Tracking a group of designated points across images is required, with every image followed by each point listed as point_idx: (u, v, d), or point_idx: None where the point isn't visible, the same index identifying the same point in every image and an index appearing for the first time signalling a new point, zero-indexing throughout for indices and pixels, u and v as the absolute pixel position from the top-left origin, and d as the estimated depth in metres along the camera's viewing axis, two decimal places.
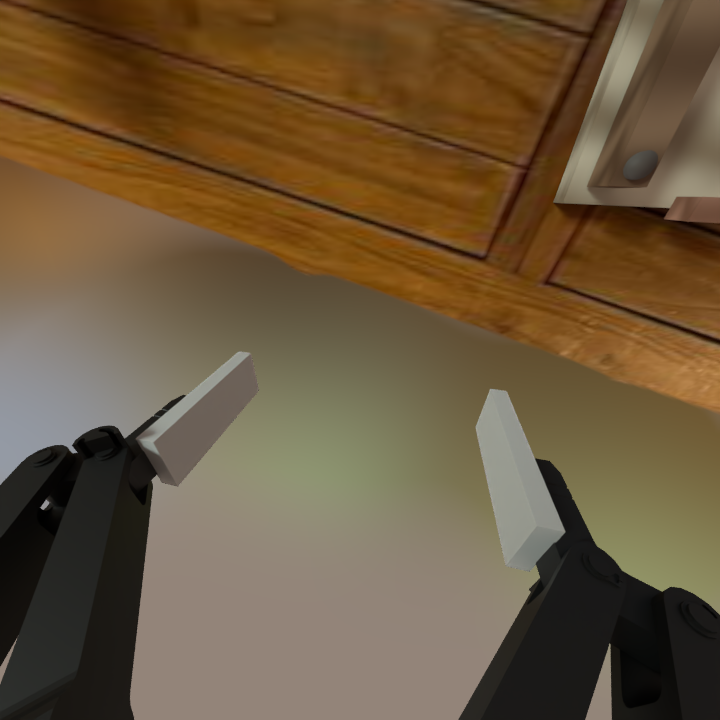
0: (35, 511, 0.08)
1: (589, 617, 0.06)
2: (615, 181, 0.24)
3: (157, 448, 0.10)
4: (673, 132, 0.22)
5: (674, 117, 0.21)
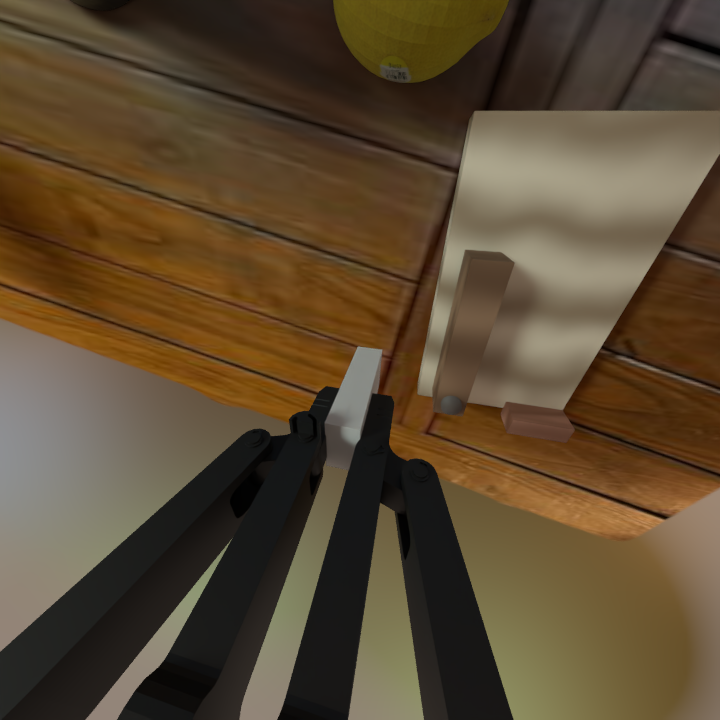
0: (231, 492, 0.09)
1: (370, 482, 0.09)
2: (437, 409, 0.28)
3: (342, 432, 0.11)
4: (470, 388, 0.26)
5: (468, 380, 0.25)
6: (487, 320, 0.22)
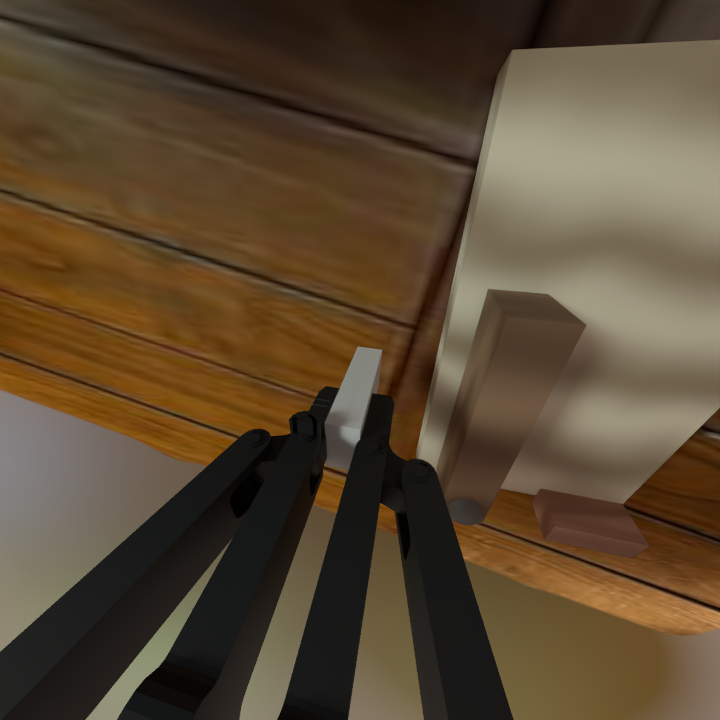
0: (231, 492, 0.09)
1: (370, 482, 0.09)
2: None
3: (342, 432, 0.11)
4: (495, 493, 0.17)
5: (491, 483, 0.17)
6: (528, 409, 0.13)
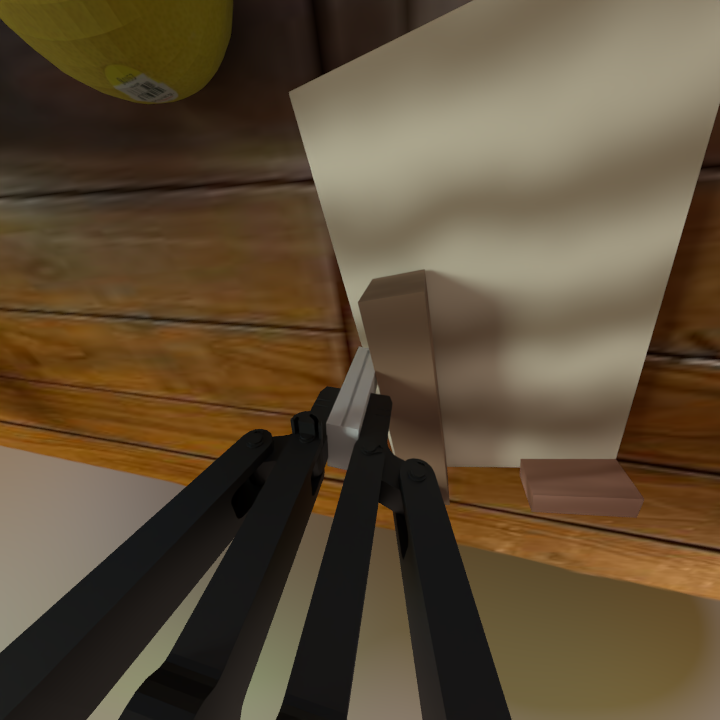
0: (233, 493, 0.09)
1: (368, 482, 0.09)
2: None
3: (344, 432, 0.11)
4: (443, 470, 0.17)
5: (434, 460, 0.17)
6: (423, 381, 0.14)
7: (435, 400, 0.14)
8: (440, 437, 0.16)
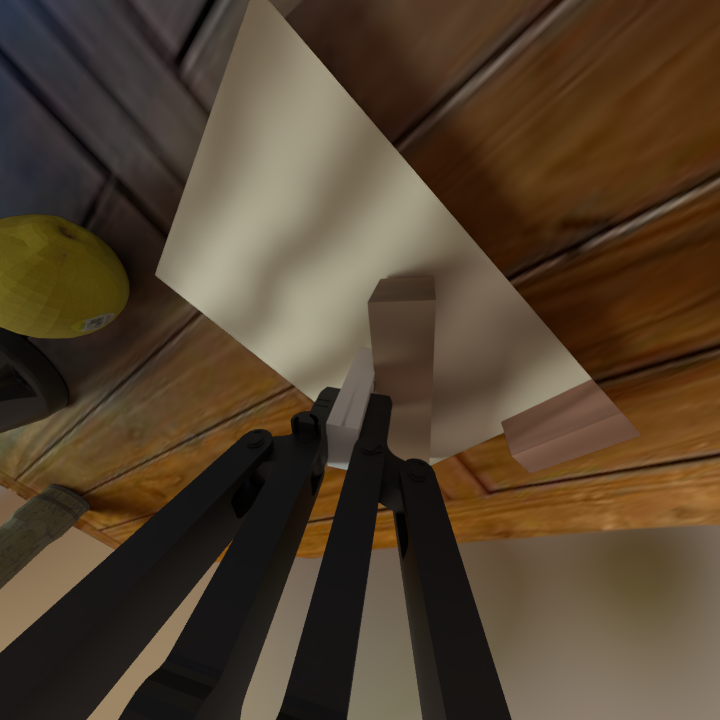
0: (233, 493, 0.09)
1: (368, 482, 0.09)
2: None
3: (344, 432, 0.11)
4: None
5: None
6: (421, 387, 0.14)
7: (430, 407, 0.14)
8: (429, 442, 0.16)
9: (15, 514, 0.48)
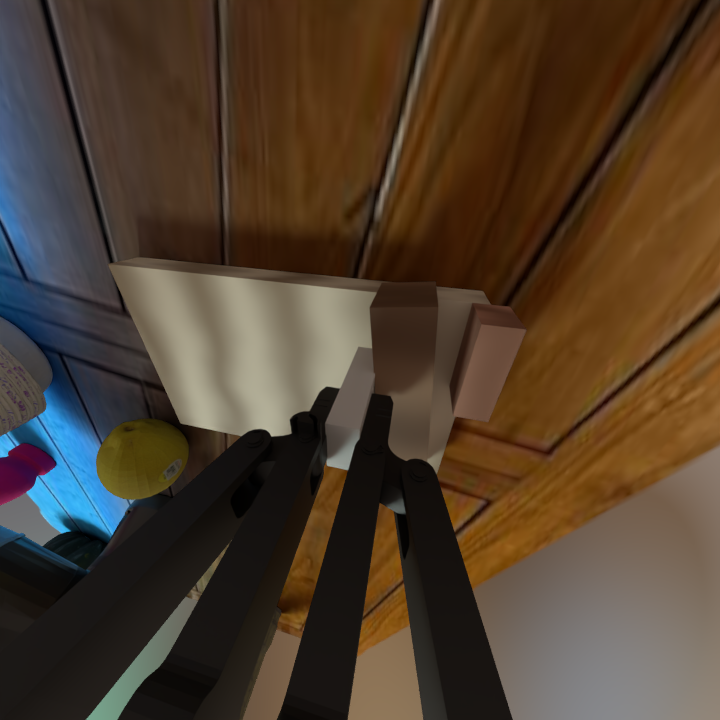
0: (232, 492, 0.09)
1: (369, 482, 0.09)
2: None
3: (343, 432, 0.11)
4: None
5: None
6: (420, 392, 0.14)
7: (429, 412, 0.14)
8: (427, 447, 0.16)
9: None
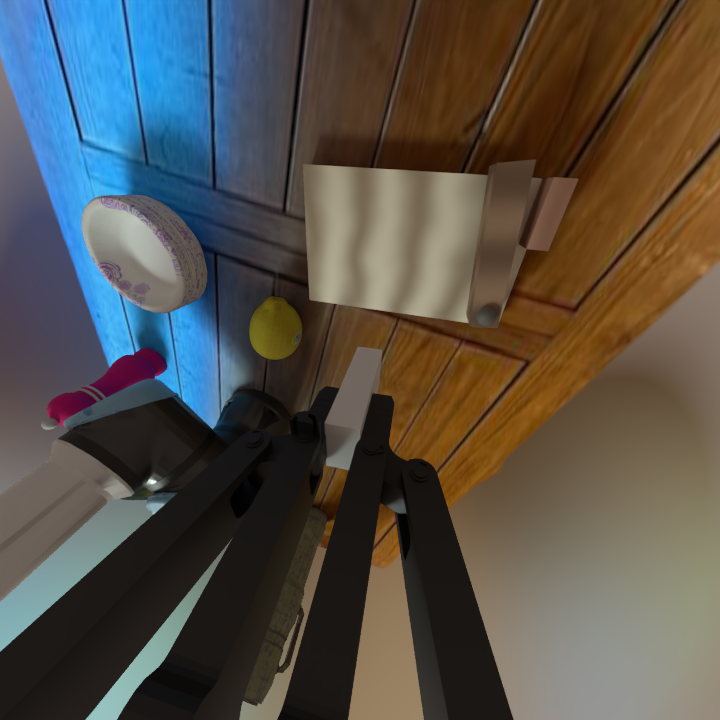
0: (231, 492, 0.09)
1: (370, 482, 0.09)
2: (473, 324, 0.31)
3: (342, 432, 0.11)
4: (503, 296, 0.28)
5: (500, 287, 0.28)
6: (515, 222, 0.25)
7: (517, 237, 0.25)
8: (510, 267, 0.27)
9: None
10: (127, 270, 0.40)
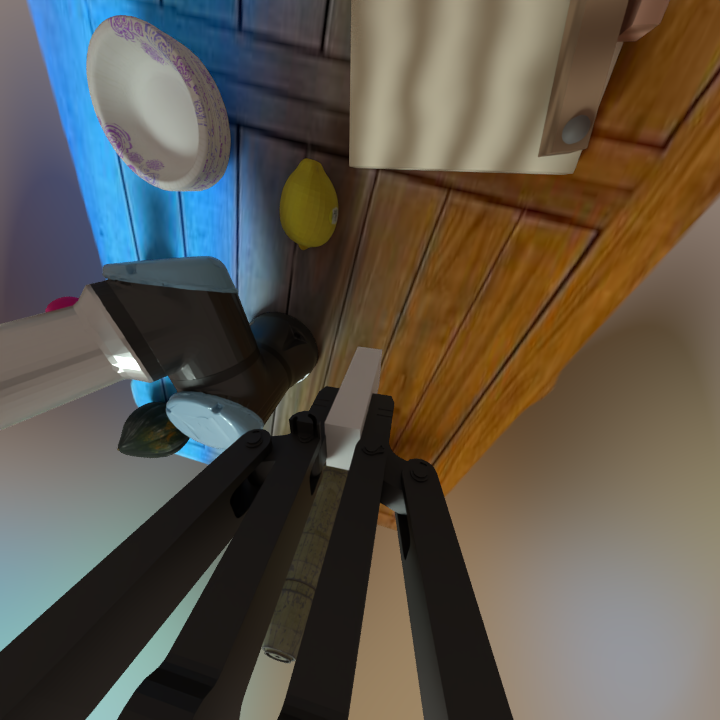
0: (231, 492, 0.09)
1: (370, 482, 0.09)
2: (557, 147, 0.26)
3: (342, 432, 0.11)
4: (600, 96, 0.24)
5: (598, 82, 0.23)
6: None
7: None
8: (614, 47, 0.22)
9: None
10: (138, 142, 0.35)
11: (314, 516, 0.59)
